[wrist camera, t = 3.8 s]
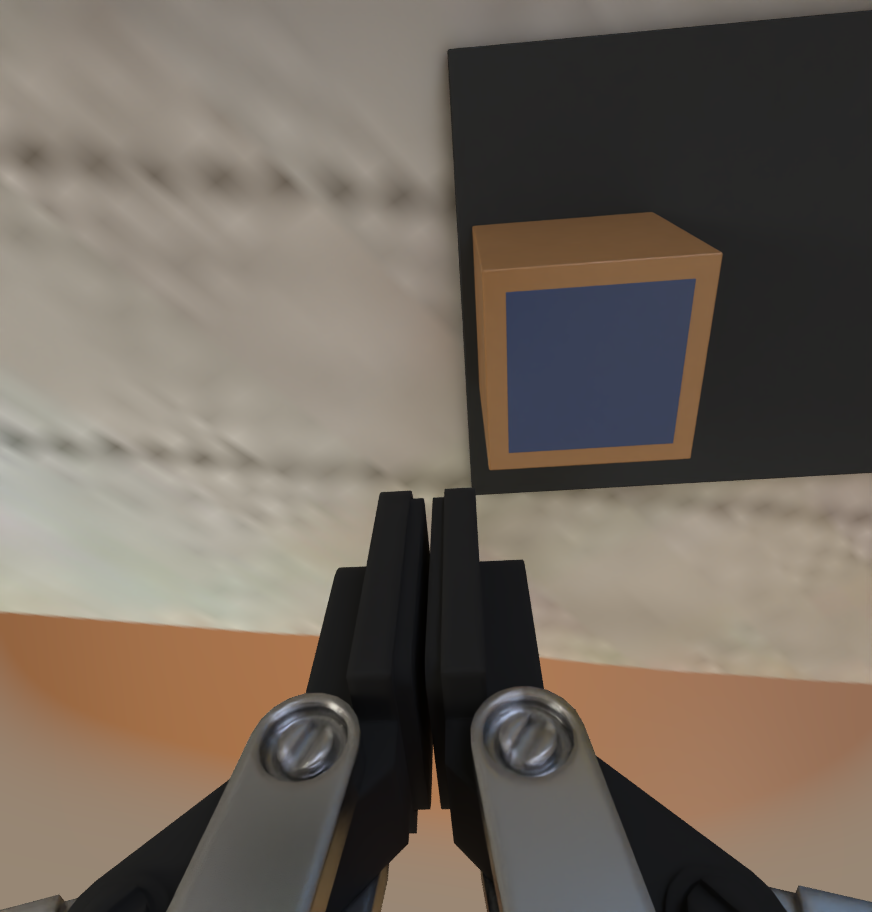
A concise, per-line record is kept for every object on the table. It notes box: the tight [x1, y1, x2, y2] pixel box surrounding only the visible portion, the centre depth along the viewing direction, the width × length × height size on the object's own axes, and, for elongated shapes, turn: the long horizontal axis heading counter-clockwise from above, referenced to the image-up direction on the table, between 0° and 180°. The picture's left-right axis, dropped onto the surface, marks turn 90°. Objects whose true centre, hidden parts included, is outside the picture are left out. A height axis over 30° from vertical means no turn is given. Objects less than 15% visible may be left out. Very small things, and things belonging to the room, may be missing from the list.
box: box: [472, 212, 723, 470], centre depth 19 cm, size 6×6×6 cm
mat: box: [448, 10, 872, 495], centre depth 22 cm, size 25×16×1 cm, turn 94°
